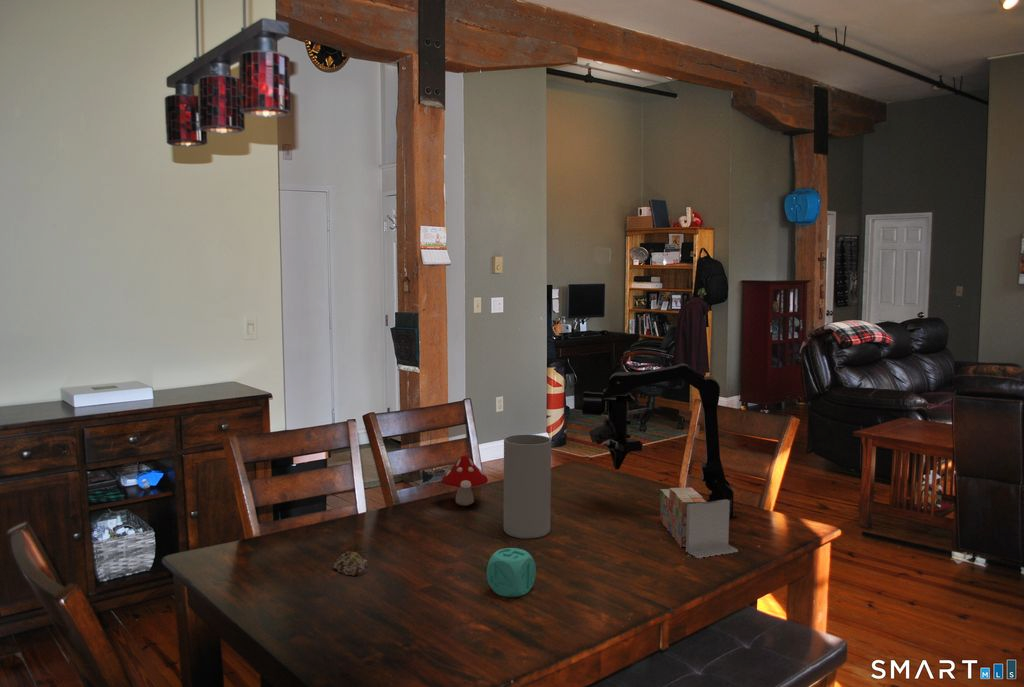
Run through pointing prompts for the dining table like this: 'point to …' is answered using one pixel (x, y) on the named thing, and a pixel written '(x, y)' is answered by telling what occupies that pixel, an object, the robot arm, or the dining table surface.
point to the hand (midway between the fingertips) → (616, 469)
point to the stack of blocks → (677, 510)
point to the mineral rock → (351, 564)
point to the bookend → (708, 529)
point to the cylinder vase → (527, 486)
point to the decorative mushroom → (464, 479)
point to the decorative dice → (511, 572)
